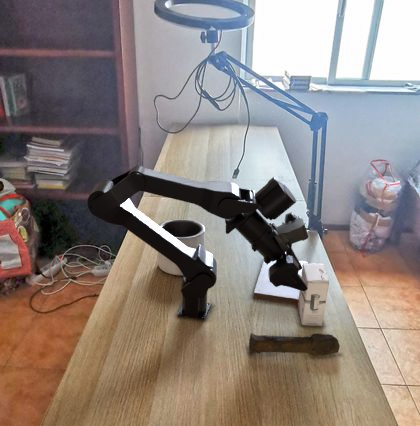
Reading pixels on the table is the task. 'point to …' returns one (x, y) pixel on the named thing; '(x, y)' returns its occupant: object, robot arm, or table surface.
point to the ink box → (313, 294)
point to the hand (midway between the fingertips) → (303, 279)
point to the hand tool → (295, 344)
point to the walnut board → (273, 293)
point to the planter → (181, 240)
